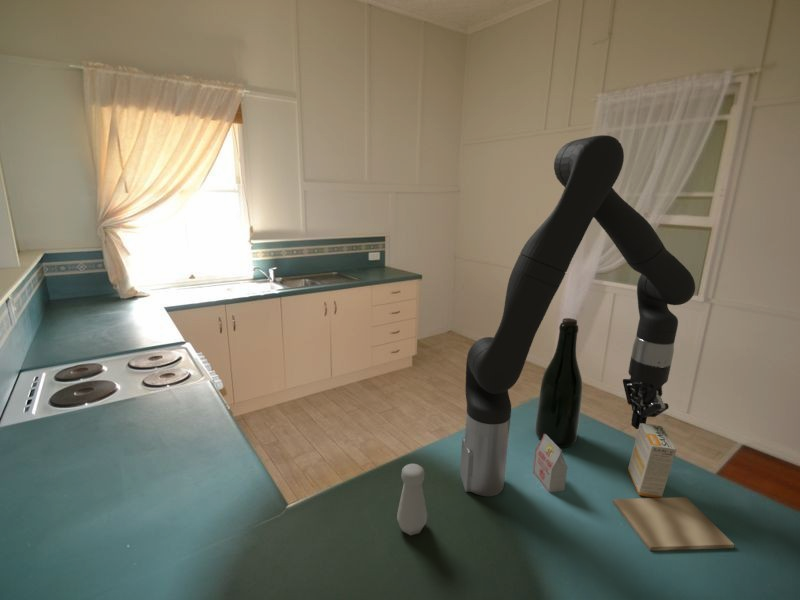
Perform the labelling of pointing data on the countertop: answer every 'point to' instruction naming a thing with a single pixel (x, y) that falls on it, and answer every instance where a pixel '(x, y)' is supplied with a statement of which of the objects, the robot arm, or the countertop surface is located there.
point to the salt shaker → (412, 500)
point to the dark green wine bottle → (561, 390)
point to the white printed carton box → (550, 465)
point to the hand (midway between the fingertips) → (637, 427)
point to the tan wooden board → (671, 524)
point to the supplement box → (651, 460)
